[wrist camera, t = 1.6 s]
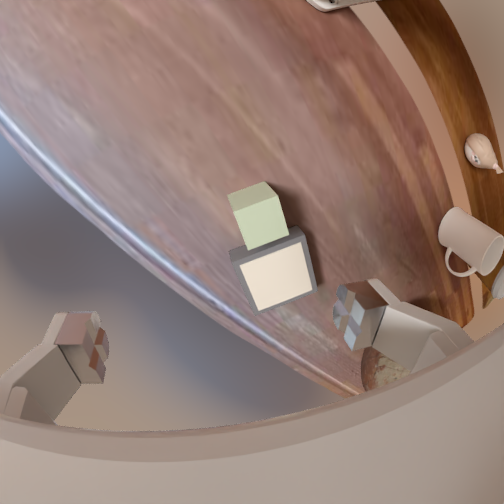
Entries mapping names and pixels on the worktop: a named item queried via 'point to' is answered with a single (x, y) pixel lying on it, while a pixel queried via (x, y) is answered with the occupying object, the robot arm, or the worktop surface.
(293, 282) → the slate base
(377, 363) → the jug
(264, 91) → the worktop surface
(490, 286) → the disposable coffee cup
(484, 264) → the mug
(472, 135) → the garlic bulb
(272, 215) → the green block
